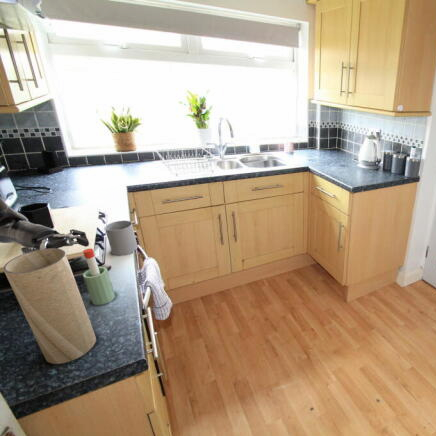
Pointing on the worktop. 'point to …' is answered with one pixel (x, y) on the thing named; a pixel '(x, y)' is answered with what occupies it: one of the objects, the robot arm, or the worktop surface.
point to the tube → (51, 304)
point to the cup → (121, 237)
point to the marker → (91, 262)
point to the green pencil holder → (99, 286)
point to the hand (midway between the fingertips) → (71, 249)
